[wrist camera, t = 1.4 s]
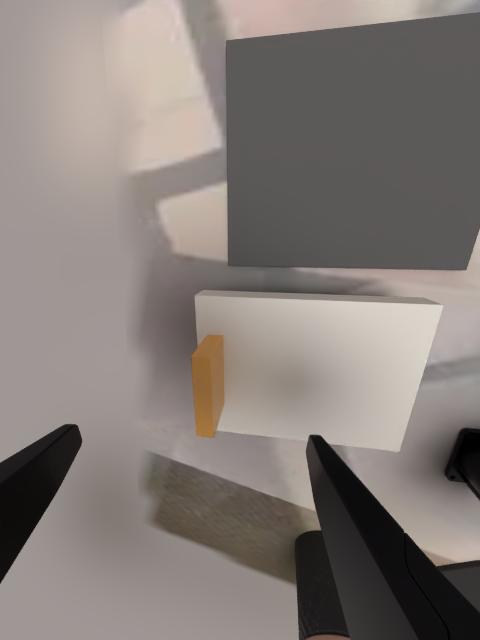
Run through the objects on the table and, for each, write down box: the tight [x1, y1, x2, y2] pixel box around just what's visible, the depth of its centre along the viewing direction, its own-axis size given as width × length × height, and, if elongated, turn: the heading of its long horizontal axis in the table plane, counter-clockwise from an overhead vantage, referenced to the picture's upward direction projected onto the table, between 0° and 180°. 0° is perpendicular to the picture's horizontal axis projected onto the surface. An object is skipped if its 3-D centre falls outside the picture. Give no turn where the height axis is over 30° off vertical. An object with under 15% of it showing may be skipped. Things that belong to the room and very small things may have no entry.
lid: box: [191, 290, 444, 452], centre depth 16 cm, size 12×16×6 cm
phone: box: [437, 560, 480, 612], centre depth 30 cm, size 7×1×15 cm
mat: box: [226, 12, 480, 270], centre depth 17 cm, size 15×19×1 cm
